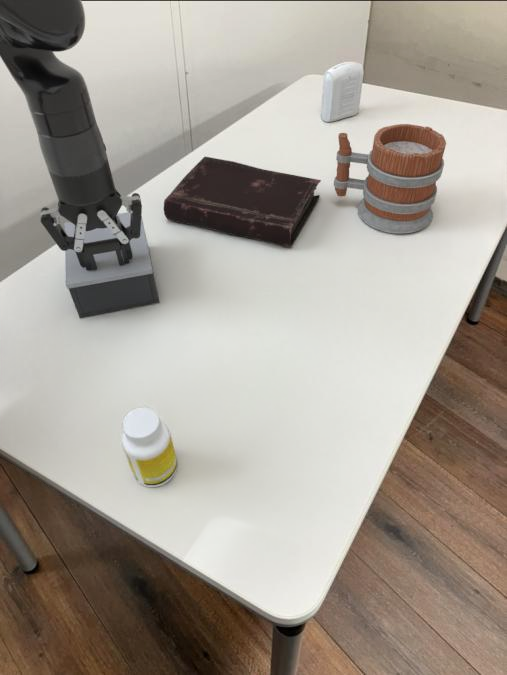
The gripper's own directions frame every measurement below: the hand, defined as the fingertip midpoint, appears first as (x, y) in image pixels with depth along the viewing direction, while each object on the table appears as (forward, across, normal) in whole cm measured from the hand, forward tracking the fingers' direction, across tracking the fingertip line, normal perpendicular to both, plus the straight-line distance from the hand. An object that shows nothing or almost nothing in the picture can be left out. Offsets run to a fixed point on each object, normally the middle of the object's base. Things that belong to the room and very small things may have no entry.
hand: (108, 263), depth 77 cm
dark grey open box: (+8, 0, +5) cm, 9 cm away
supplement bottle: (+7, +2, -32) cm, 33 cm away
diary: (+8, +26, +19) cm, 33 cm away
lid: (+1, 0, +5) cm, 5 cm away
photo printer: (+9, +59, +54) cm, 80 cm away
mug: (+8, +51, +11) cm, 53 cm away
